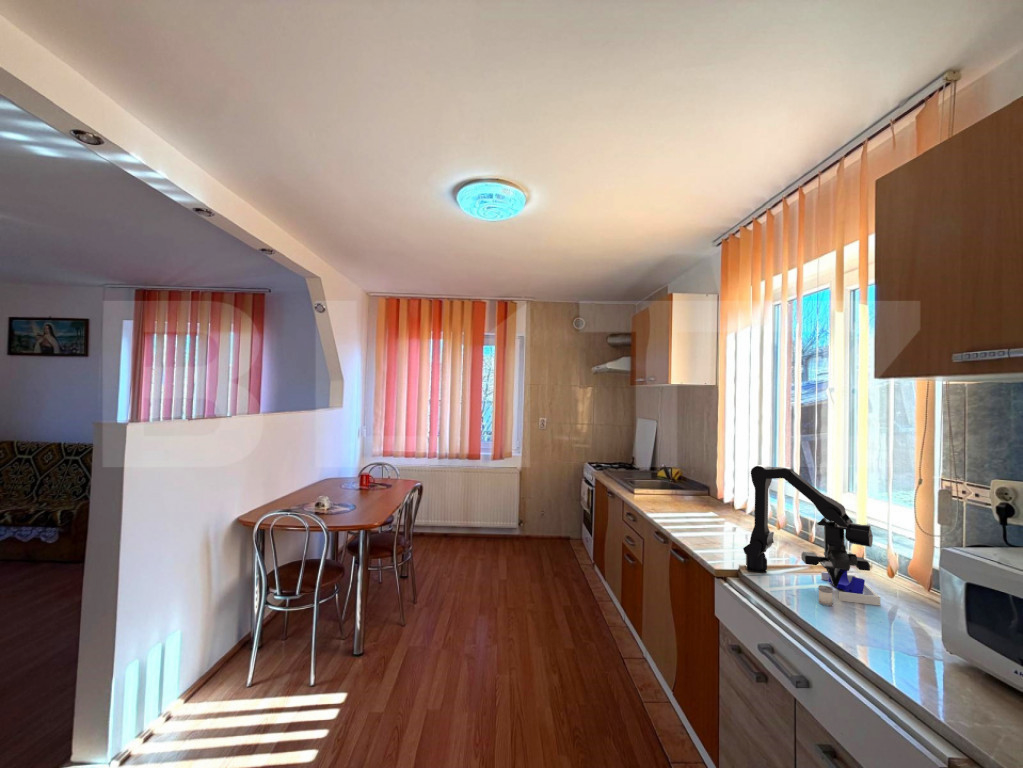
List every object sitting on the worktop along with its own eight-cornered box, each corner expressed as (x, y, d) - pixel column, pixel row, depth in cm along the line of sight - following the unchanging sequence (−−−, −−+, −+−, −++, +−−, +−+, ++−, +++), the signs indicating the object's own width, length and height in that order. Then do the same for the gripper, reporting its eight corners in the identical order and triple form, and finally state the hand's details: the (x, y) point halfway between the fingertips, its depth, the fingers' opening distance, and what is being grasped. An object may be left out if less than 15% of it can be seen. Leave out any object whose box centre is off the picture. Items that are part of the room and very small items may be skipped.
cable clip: (828, 581, 166) (831, 564, 166) (842, 584, 165) (845, 567, 165) (847, 595, 154) (849, 577, 154) (862, 598, 153) (864, 580, 153)
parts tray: (839, 600, 151) (839, 592, 152) (821, 578, 170) (821, 571, 170) (880, 605, 148) (880, 597, 148) (857, 582, 166) (857, 575, 167)
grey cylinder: (820, 605, 148) (820, 589, 148) (817, 600, 151) (816, 584, 152) (834, 607, 147) (834, 590, 147) (830, 602, 150) (830, 586, 150)
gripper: (809, 544, 156) (810, 591, 156) (876, 550, 150) (877, 599, 150) (800, 534, 167) (801, 579, 166) (863, 540, 161) (863, 586, 160)
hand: (834, 586), depth 160 cm, fingers closed
